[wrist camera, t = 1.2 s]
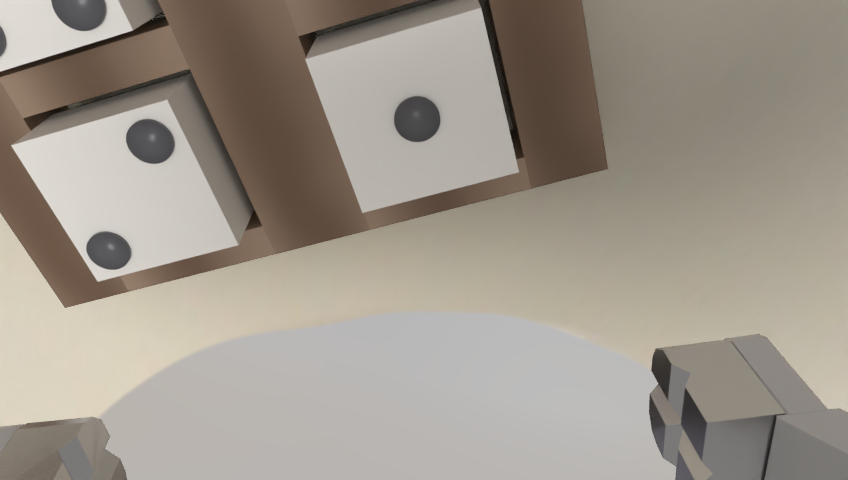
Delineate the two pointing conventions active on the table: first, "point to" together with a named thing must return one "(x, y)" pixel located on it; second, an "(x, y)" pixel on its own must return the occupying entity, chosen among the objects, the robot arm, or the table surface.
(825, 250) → the table surface
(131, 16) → the button four dots
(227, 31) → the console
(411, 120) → the button one dot
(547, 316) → the table surface
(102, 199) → the button two dots
